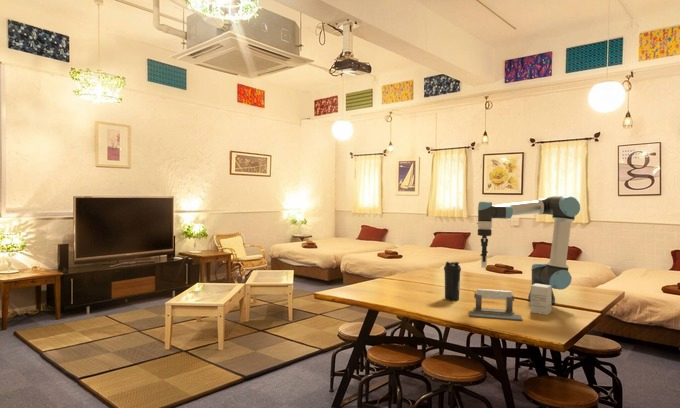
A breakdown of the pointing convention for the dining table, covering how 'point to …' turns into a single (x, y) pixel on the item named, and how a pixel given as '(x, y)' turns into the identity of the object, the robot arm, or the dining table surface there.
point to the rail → (494, 294)
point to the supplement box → (541, 298)
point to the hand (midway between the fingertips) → (483, 266)
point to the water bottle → (452, 281)
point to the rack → (508, 309)
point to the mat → (495, 315)
